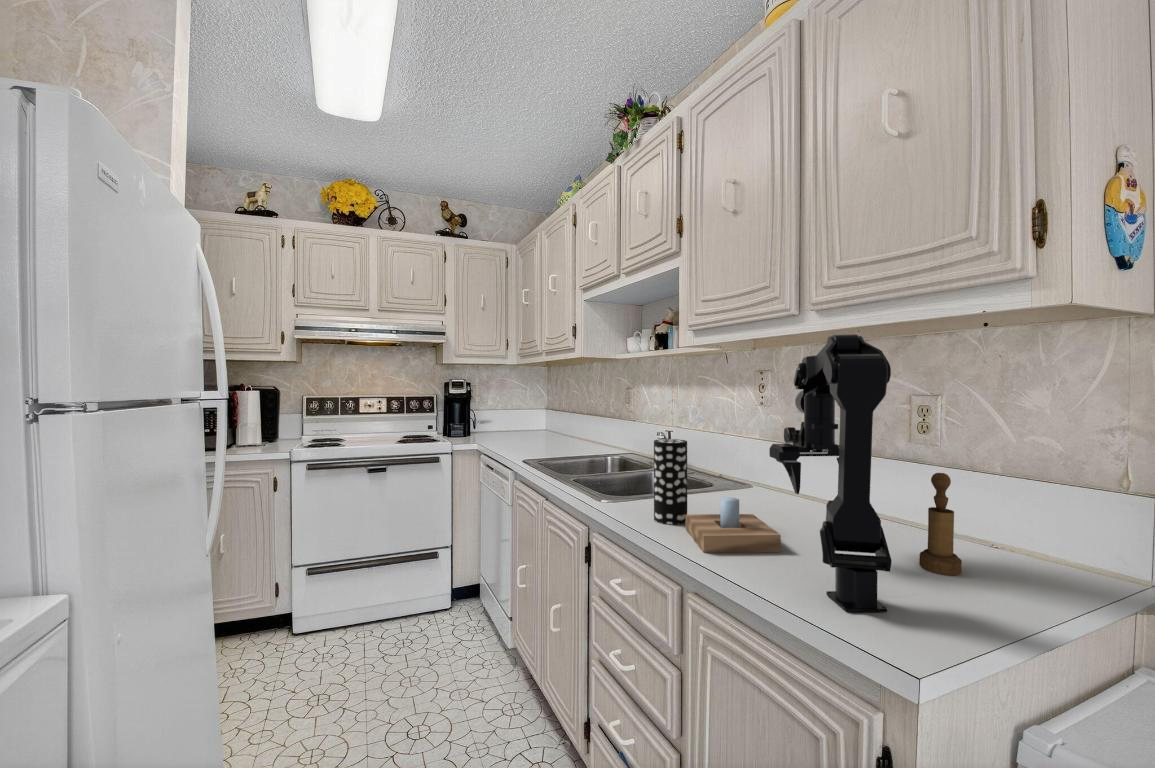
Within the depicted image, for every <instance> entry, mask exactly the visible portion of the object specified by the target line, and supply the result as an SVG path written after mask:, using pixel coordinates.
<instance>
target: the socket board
mask: <svg viewBox="0 0 1155 768" xmlns="http://www.w3.org/2000/svg"><path fill="white" fill-rule="evenodd" d="M685 530H686V532H687V533H688V534H689V536H690V537H691V538H692V539H693V541H694V542H695V543H696V545H697V546H698V547H699V550H701V551H702V553H705V554H706V553H707V554H708V553H709V554H710V553H714V554H715V553H780V552H782V550H781V549H782V548H781V547H782V546H781V545H782V543H781V541H782V538H781V537H782V536H781V534H780V533H779V532H777V531H776V530H775V529H773V528H772V527H771V526H769V525H768V524H767V523H765V522H764V521H763V520H762V519H760V518H759V517H757V516H756V515H755V514H754V513H739V528H721V513H719V514H717V513H716V514H714V513H713V514H711V513H710V514H709V513H707V514H704V513H703V514H687V515H686V523H685Z"/></svg>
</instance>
